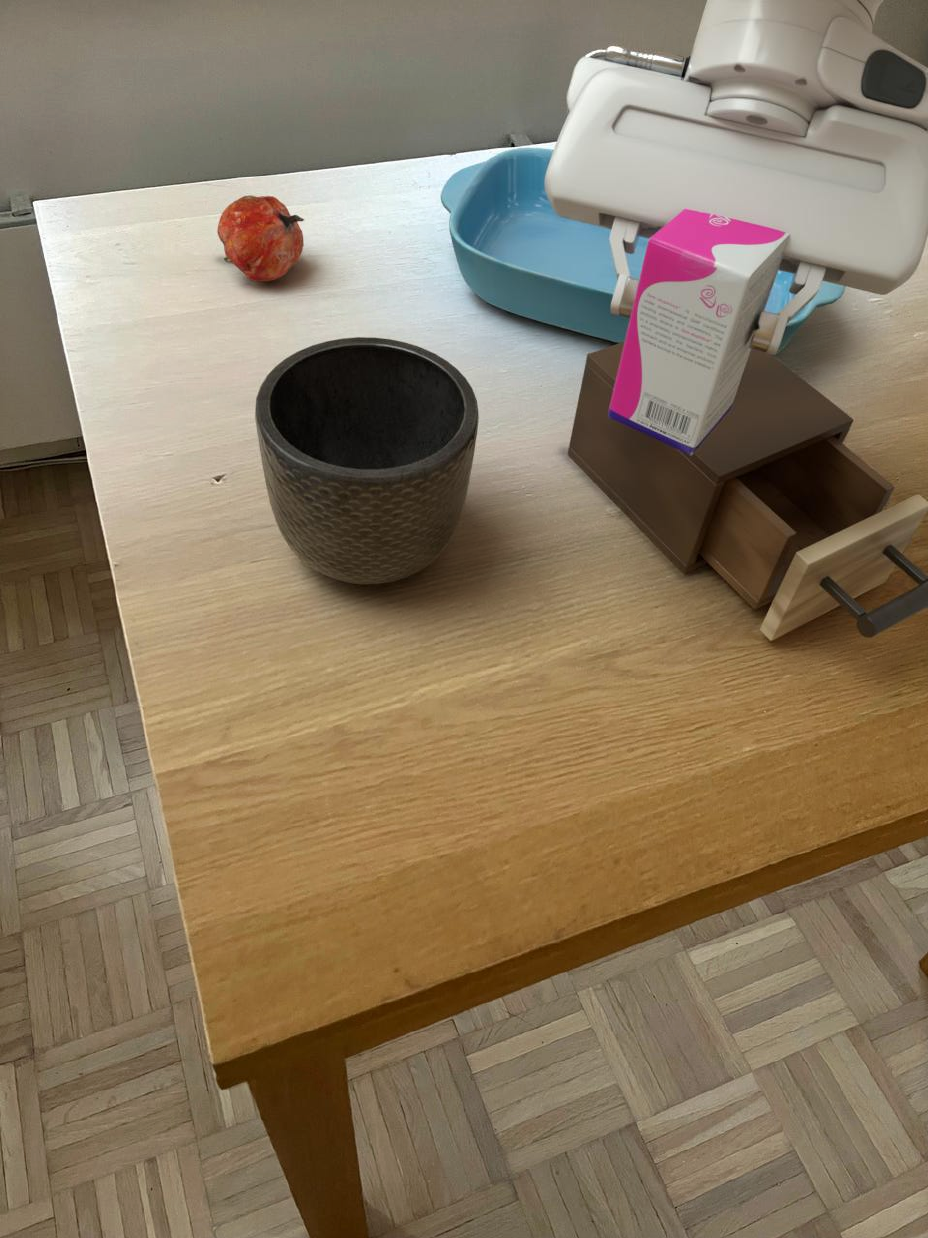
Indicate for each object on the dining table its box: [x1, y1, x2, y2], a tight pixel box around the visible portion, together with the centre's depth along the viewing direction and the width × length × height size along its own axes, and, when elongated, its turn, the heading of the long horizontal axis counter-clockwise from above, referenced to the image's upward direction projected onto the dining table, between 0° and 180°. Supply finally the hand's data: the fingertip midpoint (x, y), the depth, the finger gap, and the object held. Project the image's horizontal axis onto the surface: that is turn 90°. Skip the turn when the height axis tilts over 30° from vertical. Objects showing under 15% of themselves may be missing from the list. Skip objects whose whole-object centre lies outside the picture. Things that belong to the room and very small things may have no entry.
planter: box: [254, 336, 480, 586], centre depth 68 cm, size 14×14×13 cm
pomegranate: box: [216, 194, 306, 282], centre depth 92 cm, size 7×7×10 cm
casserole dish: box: [440, 147, 846, 357], centre depth 94 cm, size 37×22×7 cm, turn 72°
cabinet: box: [567, 342, 854, 575], centre depth 76 cm, size 15×13×10 cm
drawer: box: [699, 436, 928, 642], centre depth 71 cm, size 18×11×8 cm, turn 32°
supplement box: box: [608, 209, 790, 456], centre depth 56 cm, size 6×6×12 cm
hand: (692, 332), depth 56 cm, fingers closed on supplement box, 6 cm apart
